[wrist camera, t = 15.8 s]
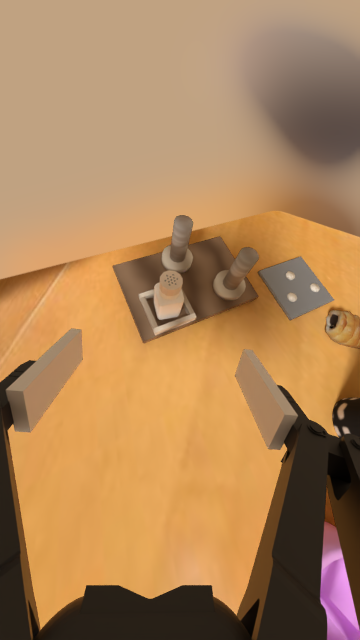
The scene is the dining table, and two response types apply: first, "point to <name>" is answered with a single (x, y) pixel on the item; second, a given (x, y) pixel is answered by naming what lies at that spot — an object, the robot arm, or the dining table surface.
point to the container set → (336, 590)
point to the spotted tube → (347, 417)
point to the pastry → (343, 328)
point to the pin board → (187, 281)
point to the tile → (295, 287)
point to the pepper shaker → (168, 295)
